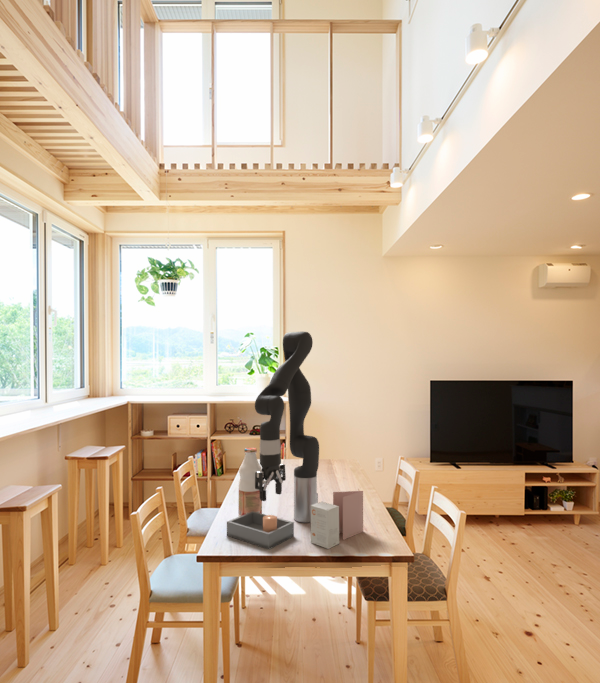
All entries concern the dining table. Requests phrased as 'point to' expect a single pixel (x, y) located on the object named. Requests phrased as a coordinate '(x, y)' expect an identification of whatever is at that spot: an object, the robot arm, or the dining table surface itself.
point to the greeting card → (349, 512)
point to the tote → (259, 530)
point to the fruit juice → (249, 484)
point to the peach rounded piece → (269, 523)
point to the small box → (325, 524)
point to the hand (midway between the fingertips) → (270, 497)
